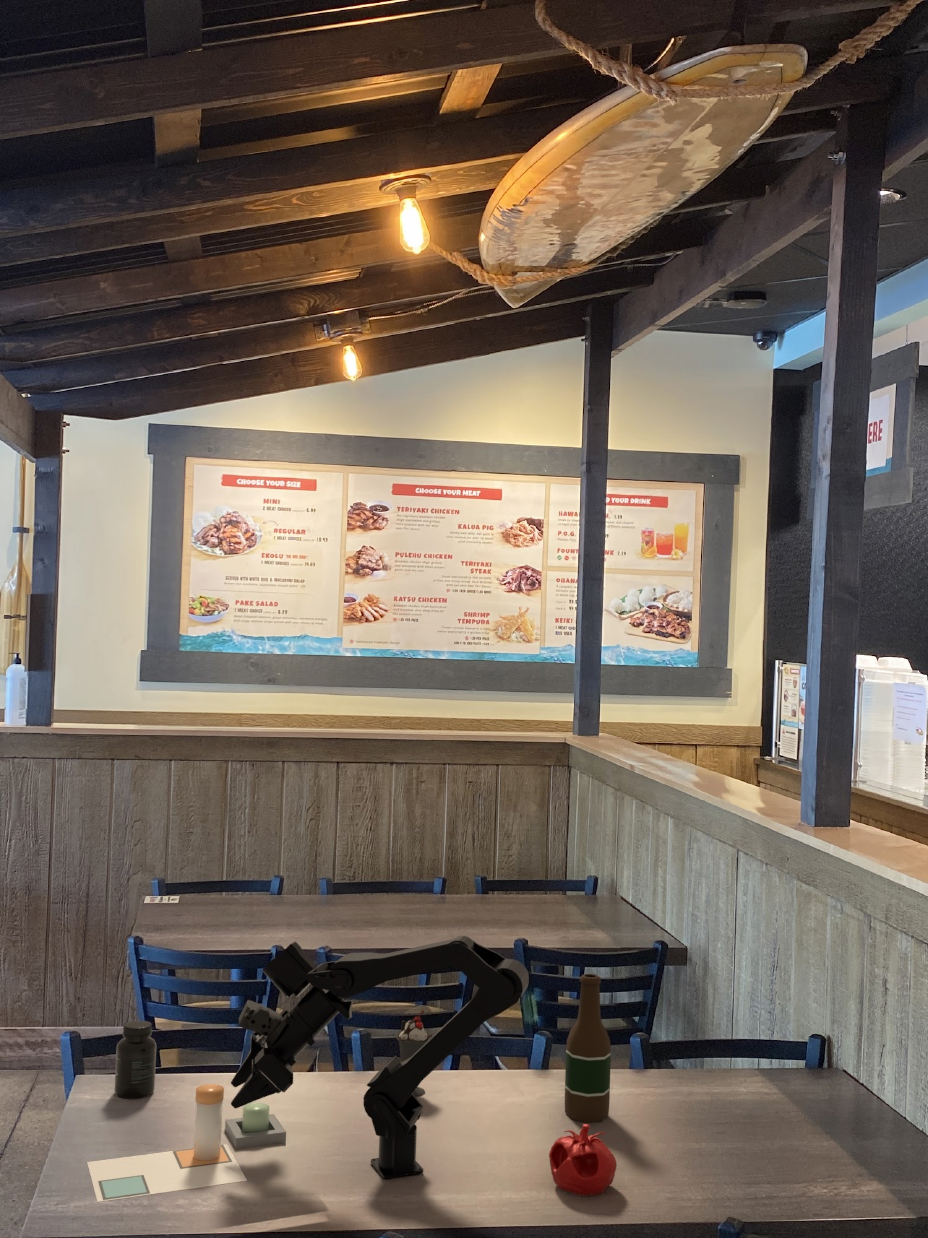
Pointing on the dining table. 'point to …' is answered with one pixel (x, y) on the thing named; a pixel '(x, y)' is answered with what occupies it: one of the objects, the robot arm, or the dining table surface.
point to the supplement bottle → (135, 1061)
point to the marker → (208, 1122)
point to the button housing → (255, 1133)
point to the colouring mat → (161, 1173)
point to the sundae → (412, 1042)
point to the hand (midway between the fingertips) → (232, 1095)
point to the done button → (255, 1118)
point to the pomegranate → (582, 1163)
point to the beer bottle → (588, 1058)
